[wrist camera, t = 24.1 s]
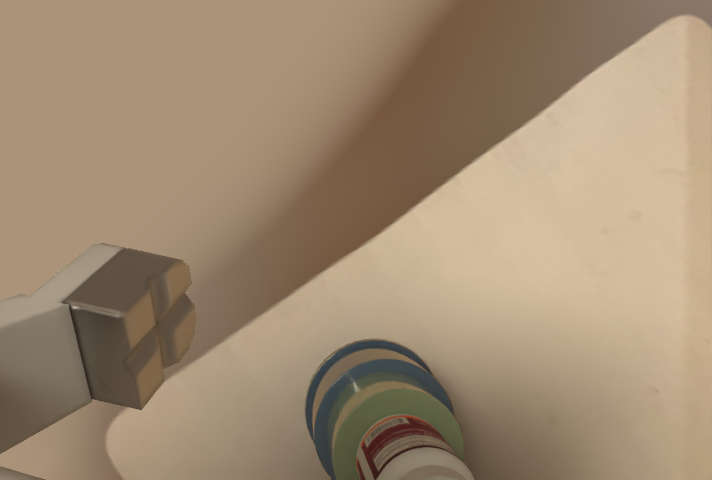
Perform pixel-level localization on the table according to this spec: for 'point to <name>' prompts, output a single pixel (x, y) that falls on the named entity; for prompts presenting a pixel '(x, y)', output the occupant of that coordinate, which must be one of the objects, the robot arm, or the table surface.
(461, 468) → the pill bottle
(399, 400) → the cup stack
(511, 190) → the table surface
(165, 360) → the robot arm
